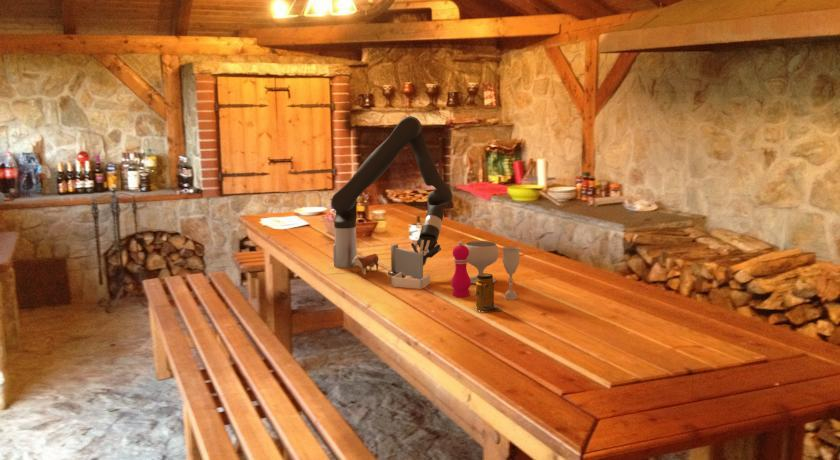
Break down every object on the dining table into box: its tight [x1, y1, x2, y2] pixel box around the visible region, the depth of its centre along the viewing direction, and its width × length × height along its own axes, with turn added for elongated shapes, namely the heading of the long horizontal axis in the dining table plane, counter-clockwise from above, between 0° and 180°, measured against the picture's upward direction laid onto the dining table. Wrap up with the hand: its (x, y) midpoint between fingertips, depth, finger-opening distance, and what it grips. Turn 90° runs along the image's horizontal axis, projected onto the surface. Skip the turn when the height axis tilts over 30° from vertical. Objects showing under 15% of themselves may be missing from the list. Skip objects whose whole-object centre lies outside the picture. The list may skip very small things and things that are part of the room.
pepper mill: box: [450, 240, 472, 298], centre depth 258 cm, size 7×7×20 cm
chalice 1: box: [464, 240, 500, 285], centre depth 278 cm, size 14×14×15 cm
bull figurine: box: [352, 253, 379, 276], centre depth 296 cm, size 4×13×8 cm, turn 137°
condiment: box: [475, 272, 503, 313], centre depth 241 cm, size 7×8×12 cm
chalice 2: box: [501, 246, 521, 301], centre depth 254 cm, size 7×7×18 cm
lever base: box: [387, 270, 398, 277], centre depth 294 cm, size 6×6×1 cm
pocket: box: [390, 272, 431, 290], centre depth 275 cm, size 13×9×4 cm
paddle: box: [390, 243, 424, 279], centre depth 286 cm, size 20×3×11 cm, turn 37°
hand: (420, 265), depth 282 cm, fingers closed
